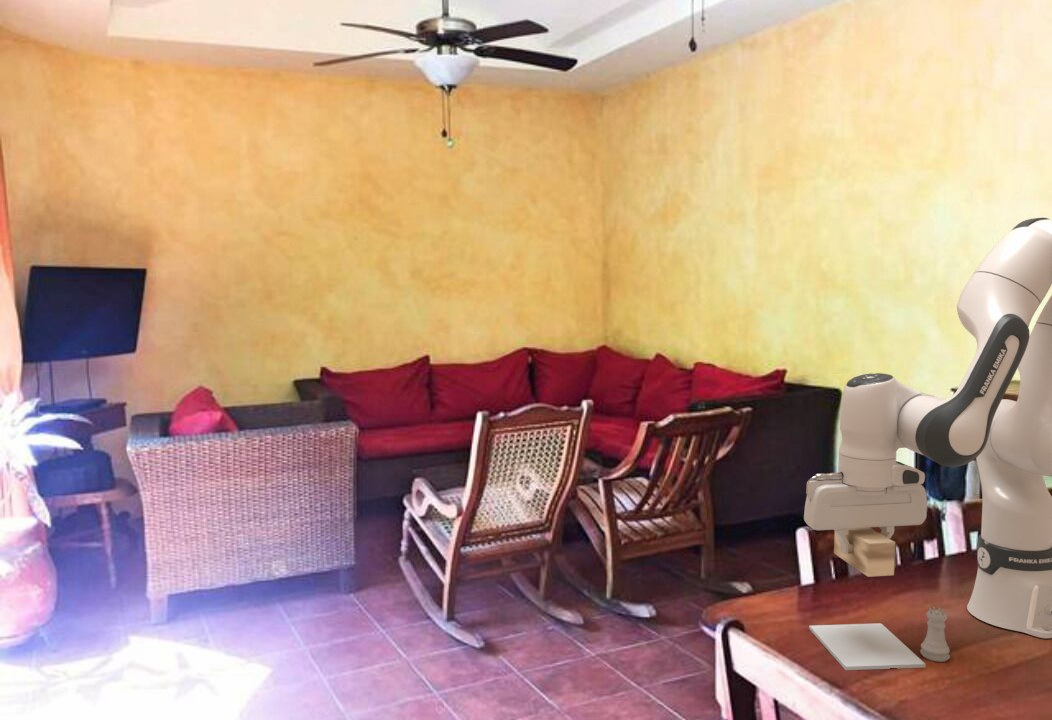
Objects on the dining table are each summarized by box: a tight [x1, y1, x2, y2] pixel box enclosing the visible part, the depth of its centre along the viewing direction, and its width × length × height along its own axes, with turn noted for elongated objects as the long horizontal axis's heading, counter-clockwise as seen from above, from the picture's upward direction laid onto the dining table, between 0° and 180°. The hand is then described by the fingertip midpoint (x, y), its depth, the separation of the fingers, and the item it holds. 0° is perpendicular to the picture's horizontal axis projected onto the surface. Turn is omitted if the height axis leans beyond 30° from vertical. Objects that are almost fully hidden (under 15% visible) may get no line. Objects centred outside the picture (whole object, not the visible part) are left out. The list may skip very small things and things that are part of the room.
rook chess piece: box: [919, 606, 951, 663], centre depth 135 cm, size 4×4×8 cm
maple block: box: [833, 527, 896, 578], centre depth 138 cm, size 11×4×6 cm, turn 7°
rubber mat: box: [808, 622, 926, 671], centre depth 139 cm, size 13×15×1 cm
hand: (863, 551), depth 138 cm, fingers closed on maple block, 4 cm apart
